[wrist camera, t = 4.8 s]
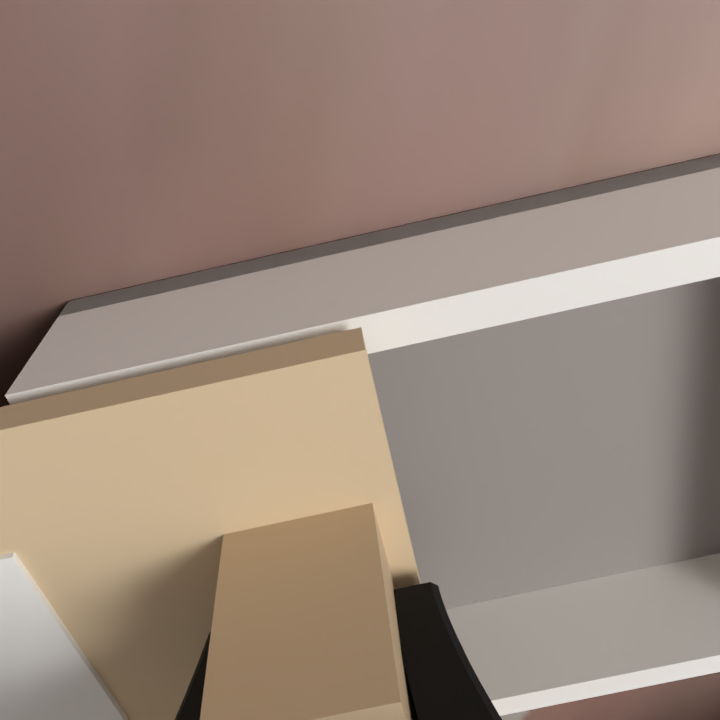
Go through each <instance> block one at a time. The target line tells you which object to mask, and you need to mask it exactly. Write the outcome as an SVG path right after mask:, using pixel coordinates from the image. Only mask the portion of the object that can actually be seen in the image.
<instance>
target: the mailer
mask: <svg viewBox="0 0 720 720" xmlns="http://www.w3.org/2000/svg"><path fill="white" fill-rule="evenodd" d="M360 327H361V328H362V332H363V337H364V341H365V345H366V350H367V354H368V358H369V363H370V367H371V371H372V375H373V380H374V384H375V388H376V393H377V397H378V401H379V406H380V410H381V414H382V418H383V423H384V427H385V431H386V436H387V440H388V444H389V448H390V453H391V457H392V461H393V466H394V470H395V474H396V479H397V483H398V487H399V491H400V496H401V500H402V504H403V509H404V513H405V517H406V522H407V526H408V530H409V534H410V539H411V543H412V547H413V552H414V556H415V560H416V564H417V569H418V573H419V577H420V582H421V584H423V583H428V582H431V583H434V584H436V585H438V586H439V590H440V594H441V597H442V600H443V603H444V606H445V608H446V611H447V614H448V616H449V619H450V621H451V624H452V626H453V628H454V630H455V633H456V635H457V637H458V639H459V641H460V643H461V645H462V647H463V649H464V652H465V654H466V656H467V658H468V660H469V662H470V664H471V666H472V668H473V669H474V671H475V673H476V675H477V677H478V679H479V681H480V682H481V684H482V686H483V688H484V689H485V691H486V693H487V695H488V696H489V698H490V700H491V702H492V703H493V705H494V707H495V709H496V710H497V712H498V714H499V716H501V715H506V714H511V713H516V712H521V711H526V710H531V709H536V708H541V707H546V706H551V705H556V704H561V703H566V702H571V701H576V700H581V699H586V698H591V697H596V696H601V695H606V694H611V693H616V692H621V691H626V690H631V689H636V688H641V687H646V686H651V685H656V684H661V683H666V682H671V681H676V680H681V679H686V678H691V677H696V676H701V675H706V674H711V673H716V672H720V154H717V155H713V156H708V157H704V158H699V159H695V160H691V161H686V162H682V163H677V164H673V165H668V166H664V167H660V168H655V169H651V170H646V171H642V172H638V173H633V174H629V175H624V176H620V177H615V178H611V179H607V180H602V181H598V182H593V183H589V184H584V185H580V186H576V187H571V188H567V189H562V190H558V191H554V192H549V193H545V194H540V195H536V196H531V197H527V198H523V199H518V200H514V201H509V202H505V203H500V204H496V205H492V206H487V207H483V208H478V209H474V210H470V211H465V212H461V213H456V214H452V215H447V216H443V217H439V218H434V219H430V220H425V221H421V222H416V223H412V224H408V225H403V226H399V227H394V228H390V229H386V230H381V231H377V232H372V233H368V234H363V235H359V236H355V237H350V238H346V239H341V240H337V241H332V242H328V243H324V244H319V245H315V246H310V247H306V248H302V249H297V250H293V251H288V252H284V253H279V254H275V255H271V256H266V257H262V258H257V259H253V260H248V261H244V262H240V263H235V264H231V265H226V266H222V267H218V268H213V269H209V270H204V271H200V272H195V273H191V274H187V275H182V276H178V277H173V278H169V279H164V280H160V281H156V282H151V283H147V284H142V285H138V286H134V287H129V288H125V289H120V290H116V291H111V292H107V293H103V294H98V295H94V296H89V297H85V298H80V299H76V300H72V301H68V303H67V304H66V306H65V307H64V309H63V310H62V312H61V313H60V315H59V316H58V318H57V319H56V321H55V322H54V324H53V325H52V326H51V328H50V329H49V331H48V332H47V334H46V335H45V337H44V338H43V340H42V341H41V343H40V344H39V346H38V347H37V349H36V350H35V352H34V353H33V355H32V356H31V357H30V359H29V360H28V362H27V363H26V365H25V366H24V368H23V369H22V371H21V372H20V374H19V375H18V377H17V378H16V380H15V381H14V383H13V384H12V386H11V387H10V388H9V390H8V391H7V393H6V394H5V397H6V399H7V400H8V402H9V404H10V405H12V404H17V403H21V402H26V401H30V400H35V399H39V398H44V397H48V396H53V395H57V394H62V393H66V392H71V391H75V390H80V389H84V388H89V387H93V386H98V385H102V384H107V383H111V382H116V381H120V380H125V379H129V378H134V377H138V376H143V375H148V374H152V373H157V372H161V371H166V370H170V369H175V368H179V367H184V366H188V365H193V364H197V363H202V362H206V361H211V360H215V359H220V358H224V357H229V356H233V355H238V354H242V353H247V352H251V351H256V350H260V349H265V348H269V347H274V346H279V345H283V344H288V343H292V342H297V341H301V340H306V339H310V338H315V337H319V336H324V335H328V334H333V333H337V332H342V331H346V330H351V329H355V328H360Z"/></svg>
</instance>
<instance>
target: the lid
mask: <svg viewBox="0 0 720 720" xmlns="http://www.w3.org/2000/svg"><path fill="white" fill-rule="evenodd" d="M418 584H421V582H420V577H419V573H418V569H417V564H416V560H415V556H414V552H413V547H412V543H411V539H410V534H409V530H408V526H407V522H406V517H405V513H404V509H403V504H402V500H401V496H400V491H399V487H398V483H397V479H396V474H395V470H394V466H393V461H392V457H391V453H390V448H389V444H388V440H387V436H386V431H385V427H384V423H383V418H382V414H381V410H380V406H379V401H378V397H377V393H376V388H375V384H374V380H373V375H372V371H371V367H370V363H369V358H368V354H367V350H366V345H365V341H364V337H363V332H362V328H361V327H360V328H355V329H351V330H346V331H342V332H337V333H333V334H328V335H324V336H319V337H315V338H310V339H306V340H301V341H297V342H292V343H288V344H283V345H279V346H274V347H269V348H265V349H260V350H256V351H251V352H247V353H242V354H238V355H233V356H229V357H224V358H220V359H215V360H211V361H206V362H202V363H197V364H193V365H188V366H184V367H179V368H175V369H170V370H166V371H161V372H157V373H152V374H148V375H143V376H138V377H134V378H129V379H125V380H120V381H116V382H111V383H107V384H102V385H98V386H93V387H89V388H84V389H80V390H75V391H71V392H66V393H62V394H57V395H53V396H48V397H44V398H39V399H35V400H30V401H26V402H21V403H17V404H12V405H7V406H3V407H0V720H175V718H176V715H177V713H178V710H179V708H180V706H181V703H182V701H183V699H184V696H185V694H186V691H187V689H188V686H189V684H190V681H191V679H192V676H193V674H194V671H195V669H196V666H197V664H198V661H199V658H200V656H201V653H202V651H203V648H204V645H205V643H206V640H207V637H208V635H209V633H210V631H211V636H210V643H209V651H208V659H207V667H206V675H205V682H204V690H203V698H202V706H201V714H200V720H418V717H417V713H416V709H415V705H414V701H413V697H412V693H411V689H410V685H409V681H408V677H407V673H406V669H405V666H404V662H403V658H402V653H401V645H400V638H399V630H398V623H397V615H396V607H395V598H394V589H399V588H403V587H408V586H413V585H418Z"/></svg>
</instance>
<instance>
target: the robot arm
mask: <svg viewBox="0 0 720 720" xmlns="http://www.w3.org/2000/svg"><path fill="white" fill-rule="evenodd" d="M394 598H395V607H396V615H397V623H398V630H399V638H400V645H401V653H402V658H403V662H404V666H405V669H406V673H407V677H408V681H409V685H410V689H411V693H412V697H413V701H414V705H415V709H416V713H417V717H418V720H502V719H501V717H500V716H499V714H498V712H497V710H496V709H495V707H494V705H493V703H492V702H491V700H490V698H489V696H488V695H487V693H486V691H485V689H484V688H483V686H482V684H481V682H480V681H479V679H478V677H477V675H476V673H475V671H474V669H473V668H472V666H471V664H470V662H469V660H468V658H467V656H466V654H465V652H464V649H463V647H462V645H461V643H460V641H459V639H458V637H457V635H456V633H455V630H454V628H453V626H452V624H451V621H450V619H449V616H448V614H447V611H446V608H445V606H444V603H443V600H442V597H441V594H440V590H439V586H438V585H436V584H434V583H431V582H428V583H423V584H418V585H413V586H408V587H403V588H399V589H394ZM210 636H211V631H210V633H209V635H208V637H207V640H206V643H205V645H204V648H203V651H202V653H201V656H200V658H199V661H198V664H197V666H196V669H195V671H194V674H193V676H192V679H191V681H190V684H189V686H188V689H187V691H186V694H185V696H184V699H183V701H182V703H181V706H180V708H179V710H178V713H177V715H176V718H175V720H200V714H201V706H202V698H203V690H204V682H205V675H206V667H207V659H208V651H209V643H210Z"/></svg>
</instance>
